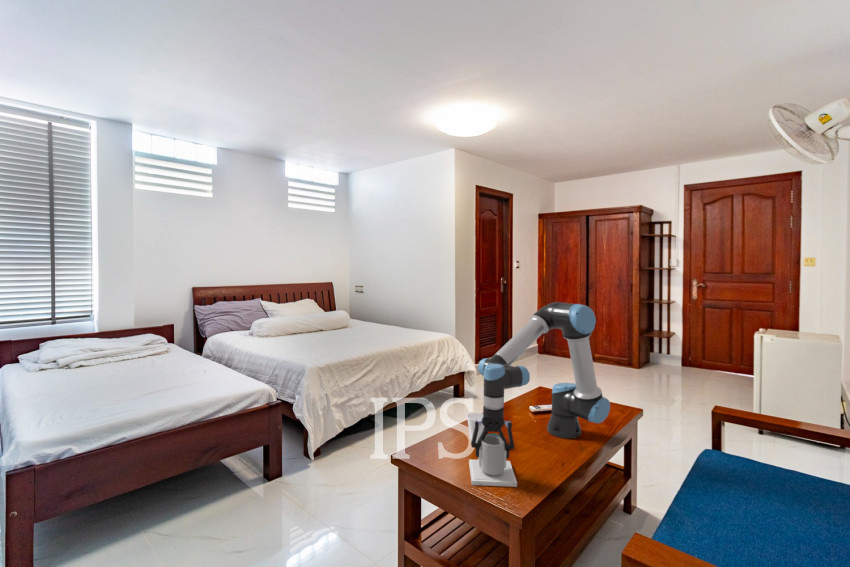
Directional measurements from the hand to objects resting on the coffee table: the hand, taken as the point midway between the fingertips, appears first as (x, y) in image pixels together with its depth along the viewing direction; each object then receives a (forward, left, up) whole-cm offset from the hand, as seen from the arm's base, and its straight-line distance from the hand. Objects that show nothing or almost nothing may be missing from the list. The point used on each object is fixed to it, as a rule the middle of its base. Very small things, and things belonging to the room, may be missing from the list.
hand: (492, 465), depth 152 cm
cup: (+3, -29, -3) cm, 29 cm away
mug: (-1, 0, -1) cm, 1 cm away
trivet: (0, 0, -3) cm, 3 cm away
